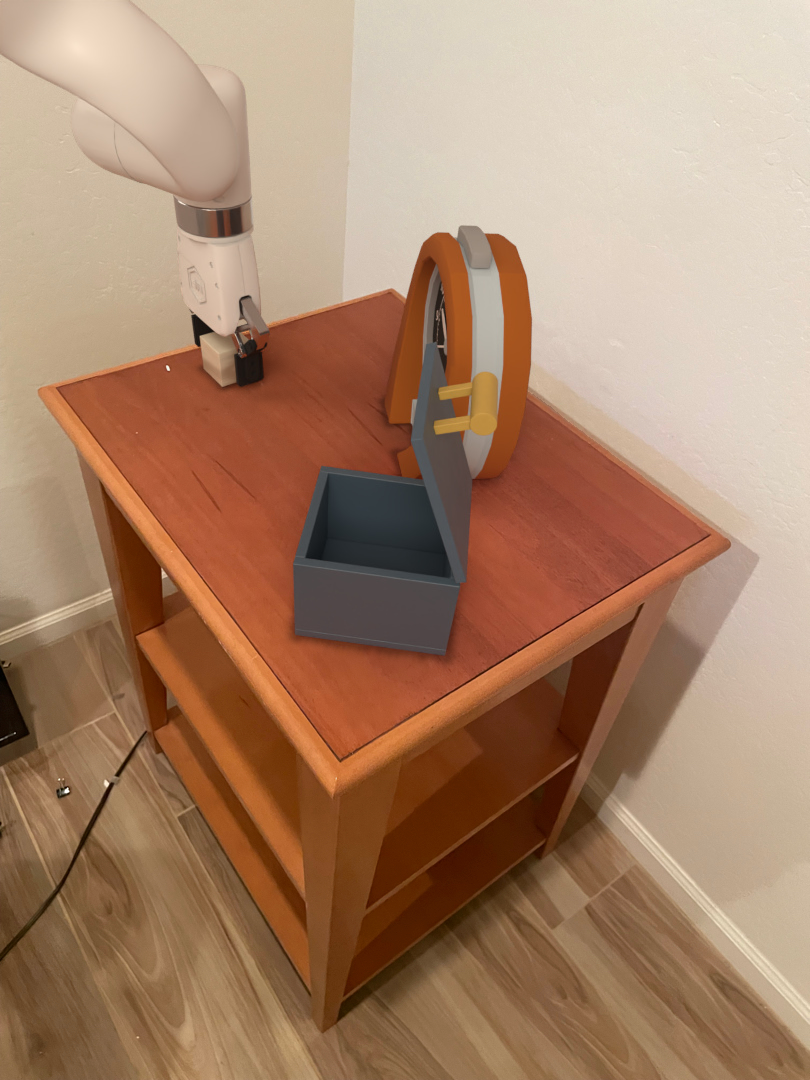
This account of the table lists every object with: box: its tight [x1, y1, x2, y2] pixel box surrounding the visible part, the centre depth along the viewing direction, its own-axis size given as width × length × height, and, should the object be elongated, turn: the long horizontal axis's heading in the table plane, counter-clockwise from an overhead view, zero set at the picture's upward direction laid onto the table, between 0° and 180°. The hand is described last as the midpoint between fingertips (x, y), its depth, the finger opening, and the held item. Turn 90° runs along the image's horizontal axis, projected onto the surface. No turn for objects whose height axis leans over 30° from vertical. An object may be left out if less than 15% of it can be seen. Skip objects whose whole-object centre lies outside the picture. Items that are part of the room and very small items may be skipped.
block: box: [200, 332, 250, 388], centre depth 85 cm, size 4×4×4 cm
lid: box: [410, 342, 498, 584], centre depth 53 cm, size 13×12×5 cm
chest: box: [292, 465, 462, 657], centre depth 62 cm, size 13×12×9 cm
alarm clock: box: [383, 224, 533, 480], centre depth 73 cm, size 22×10×23 cm, turn 9°
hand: (228, 362), depth 85 cm, fingers open, 9 cm apart
